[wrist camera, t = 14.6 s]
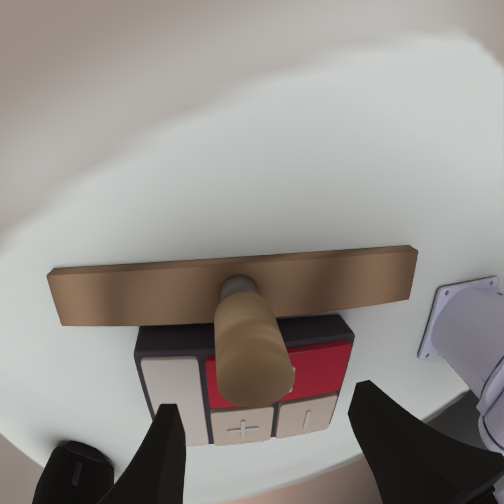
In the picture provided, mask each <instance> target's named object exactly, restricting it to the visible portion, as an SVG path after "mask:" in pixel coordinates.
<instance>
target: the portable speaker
mask: <svg viewBox="0 0 504 504" xmlns="http://www.w3.org/2000/svg"><path fill="white" fill-rule="evenodd" d="M113 485H114V468H112V467H110V466H109V465H108V464H107V463H106V462H105V461H104V458H103V456H102V453H100V452H99V451H98V450H97V449H95V448H92V447H90V446H87V445H85V444H82V443H78V442H74V441H71V442H69V443H68V444H67V445H65V446H60V447H56V448H55V449H54V450H53V452H52V454H51V456H50V458H49V460H48V462H47V464H46V466H45V468H44V471H43V473H42V475H41V477H40V479H39V482H38V484H37V487H36V490H35V494H34V498H33V502H32V504H97V503H98V502H99V501H100V500H101V499H102V498H103V497H104V496H105V495H106V493H107V492H108V491H109V490H110V489H111V488H112V486H113Z"/></svg>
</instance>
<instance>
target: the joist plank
mask: <svg viewBox="0 0 504 504" xmlns="http://www.w3.org/2000/svg"><path fill="white" fill-rule="evenodd" d="M417 255H418V250H416V249H415V248H413V247H411V246H410V245H406V246H392V247H378V248H364V249H349V250H335V251H320V252H306V253H291V254H276V255H261V256H246V257H230V258H215V259H200V260H184V261H168V262H152V263H136V264H120V265H104V266H88V267H71V268H54V269H53V270H52V271H51V272H50V273H49V274H47V275H46V276H47V280H48V283H49V287H50V290H51V294H52V297H53V300H54V303H55V306H56V309H57V312H58V315H59V318H60V321H61V324H62V326H148V325H175V324H195V323H212V322H214V315H215V311H216V309H217V307H218V305H219V304H220V288H221V285H222V284H223V282H224V281H225V280H226V279H227V278H229V277H231V276H234V275H246V276H248V277H250V278H252V279H253V280H254V281H255V282H256V284H257V287H258V290H259V293H260V296H262V297H263V298H265V299H266V300H267V301H268V302H269V304H270V305H271V307H272V310H273V313H274V316H275V317H283V316H293V315H302V314H311V313H319V312H327V311H335V310H342V309H350V308H357V307H364V306H370V305H377V304H383V303H390V302H396V301H402V300H407V299H409V296H410V292H411V287H412V282H413V277H414V272H415V267H416V261H417Z"/></svg>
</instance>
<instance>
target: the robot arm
mask: <svg viewBox="0 0 504 504" xmlns="http://www.w3.org/2000/svg"><path fill="white" fill-rule="evenodd" d="M498 282H499V278H498V277H497V276H495V277H490V278H485V279H481V280H476V281H471V282H466V283H461V284H455V285H450V286H445V287H441V288H439V290H438V291H437V294H436V298H435V302H434V306H433V310H432V313H431V317H430V320H429V324H428V327H427V330H426V333H425V337H424V340H423V343H422V346H421V349H420V352H419V355H418V358H419V360H424V359H428V358H431V357H434V356H437V355H441V356H442V357H443V358H444V359H445V360H446V361H447V362H448V363H449V365H450V366H451V367H452V368H453V369H454V370H455V371H456V372H457V374H458V375H459V376H460V377H461V378H462V379H463V380H464V382H465V383H466V384H467V385H468V386H469V387H470V389H471V390H472V391H473V392H474V393H475V394H476V395H477V397H478V398H479V399H480V402H479V403H478V405H477V407H476V408H477V409H478V410H479V411H480V413H481V416H480V418H479V430H480V435H481V438H482V440H483V442H484V443H485V445H486V446H487V447H488V449H489V450H490V451H489V450H484V449H480V448H477V447H473V446H470V445H467V444H465V443H462V442H459V441H457V440H455V439H453V438H450V437H448V436H446V435H444V434H442V433H440V432H438V431H437V430H435V429H433V428H431V427H429V426H428V425H426V424H425V423H423V422H422V421H420V420H419V419H417V418H416V417H414V416H413V415H412V414H410V413H409V412H408V411H406V410H405V409H404V408H403V407H401V406H400V405H399V404H397V403H396V402H395V401H394V400H393V399H391V398H390V397H389V396H388V395H387V394H385V393H384V392H383V391H382V390H381V389H380V388H378V387H377V386H376V385H375V384H374V383H373V382H371V381H370V380H367V381H363V382H358V383H356V387H355V390H354V394H353V397H352V401H351V404H350V407H349V410H348V416H349V420H350V423H351V426H352V429H353V432H354V434H355V437H356V439H357V441H358V443H359V445H360V447H361V449H362V451H363V453H364V455H365V457H366V460H367V462H368V464H369V466H370V468H371V470H372V472H373V475H374V477H375V479H376V483H377V486H378V489H379V492H380V495H381V499H382V502H383V504H504V489H503V490H502V491H501V492H499V493H498V494H497V495H496V496H494V495H493V492H494V491H495V488H494V486H493V484H494V483H495V482H497V480H498V479H500V478H501V477H502V476H503V475H504V291H503V290H501V289H500V288H499V287H497V286H498ZM185 463H186V434H185V430H184V427H183V423H182V420H181V416H180V413H179V410H178V406H177V403H174V404H160V405H159V408H158V410H157V413H156V415H155V417H154V420H153V422H152V424H151V426H150V428H149V430H148V432H147V434H146V436H145V438H144V440H143V442H142V444H141V446H140V447H139V449H138V451H137V452H136V454H135V456H134V457H133V459H132V460H131V462H130V464H129V465H128V467H127V468H126V470H125V471H124V472H123V474H122V475H121V476H120V478H119V479H118V480H117V482H116V483H115V484H114V485H113V486H112V488H111V489H110V490H109V491H108V492H107V493H106V495H105V496H104V497H103V498H102V499H101V500H100V501H99V502H98V503H97V504H183V489H184V476H185Z"/></svg>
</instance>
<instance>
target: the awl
mask: <svg viewBox="0 0 504 504" xmlns="http://www.w3.org/2000/svg"><path fill="white" fill-rule="evenodd" d="M214 330H215V354H216V375H217V388H218V391H219V393H220V395H221V396H222V397H223V398H224V399H225V400H226V401H228V402H229V403H231V404H233V405H236V406H240V407H247V408H255V407H262V406H266V405H270V404H272V403H274V402H276V401H278V400H280V399H281V398H283V397H284V396H285V395H286V394H287V393H288V392H289V391H290V390H291V388H292V386H293V384H294V381H295V373H294V370H293V367H292V364H291V361H290V358H289V356H288V353H287V350H286V347H285V344H284V341H283V338H282V336H281V333H280V330H279V327H278V324H277V321H276V318H275V316H274V313H273V310H272V307H271V305H270V304H269V302H268V301H267V300H266V299H265V298H263V297H262V296H260V293H259V290H258V287H257V284H256V282H255V281H254V280H253V279H252V278H250V277H248V276H246V275H234V276H231V277H229V278H227V279H226V280H225V281H224V282H223V284H222V285H221V288H220V304H219V305H218V307H217V309H216V311H215V315H214Z"/></svg>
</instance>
